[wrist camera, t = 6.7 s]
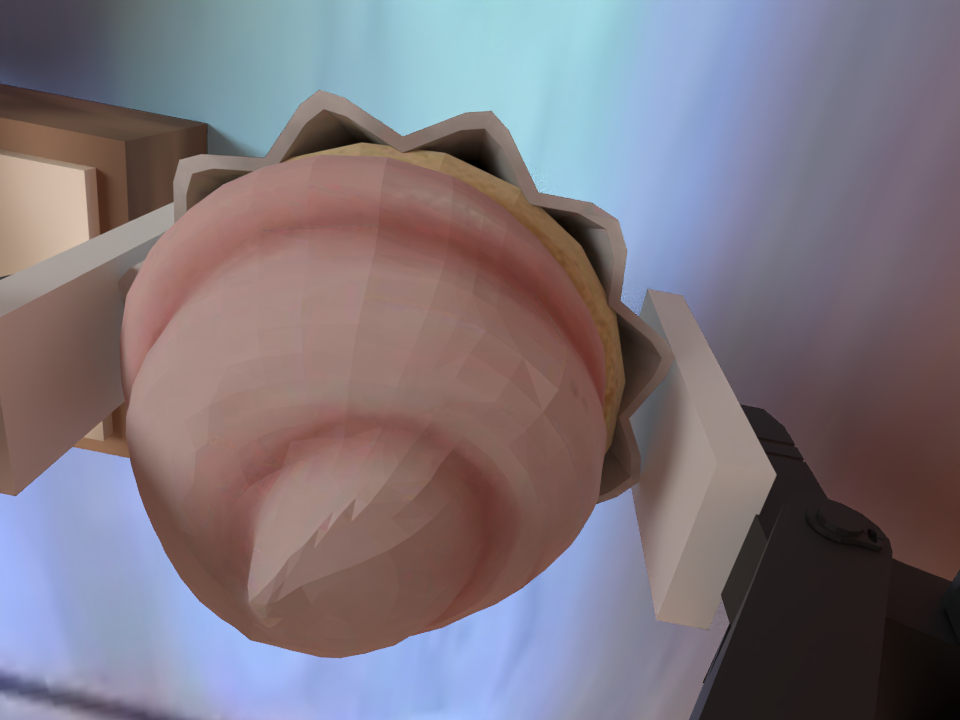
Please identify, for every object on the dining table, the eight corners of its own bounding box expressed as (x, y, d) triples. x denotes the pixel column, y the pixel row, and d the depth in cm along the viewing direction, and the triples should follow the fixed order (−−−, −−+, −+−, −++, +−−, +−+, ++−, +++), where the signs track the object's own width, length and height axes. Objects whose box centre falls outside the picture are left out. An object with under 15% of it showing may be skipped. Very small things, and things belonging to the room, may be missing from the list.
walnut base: (-47, 342, 32) (-177, 407, 26) (-94, 65, 27) (-268, 70, 21) (206, 392, 32) (131, 468, 26) (207, 123, 27) (113, 143, 21)
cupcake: (452, -36, 13) (253, -189, 4) (710, 326, 16) (932, 712, 7) (150, 252, 16) (-344, 526, 7) (409, 514, 19) (286, 953, 10)
